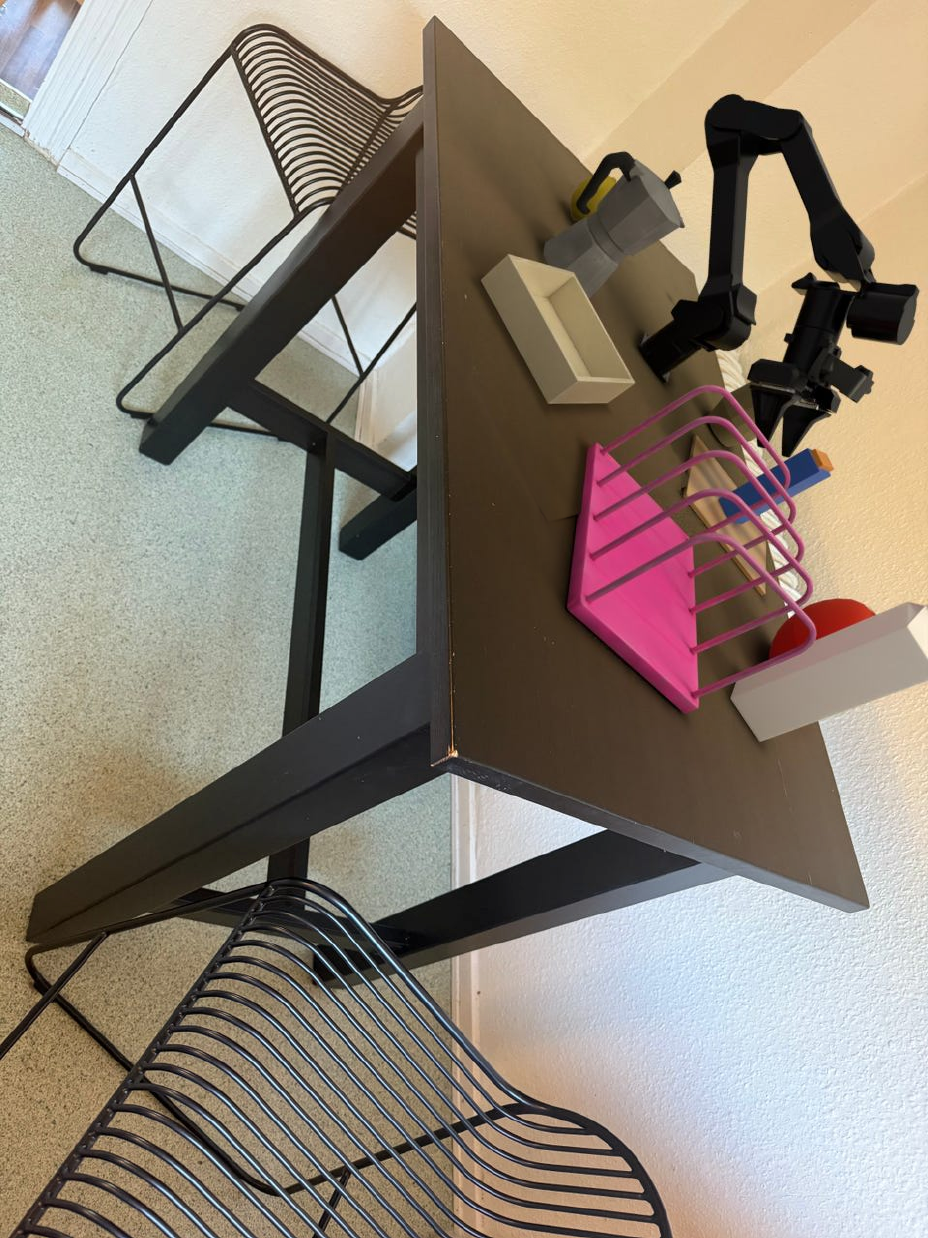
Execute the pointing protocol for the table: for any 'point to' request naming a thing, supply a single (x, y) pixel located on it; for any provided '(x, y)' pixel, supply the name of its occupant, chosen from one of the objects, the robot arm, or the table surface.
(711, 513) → the square wooden board
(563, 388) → the basin
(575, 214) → the lemon
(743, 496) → the orange-tipped blue bar
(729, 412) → the squeeze bottle
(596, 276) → the coffeepot
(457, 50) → the table surface
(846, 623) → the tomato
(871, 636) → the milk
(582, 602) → the file sorter
